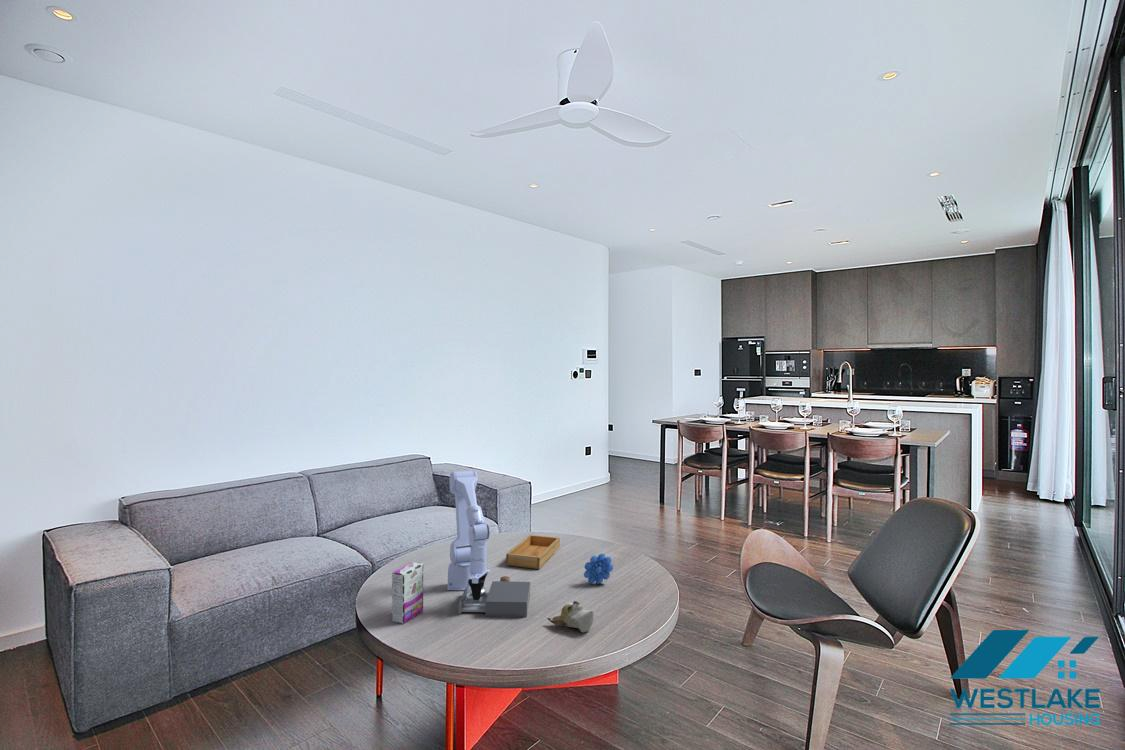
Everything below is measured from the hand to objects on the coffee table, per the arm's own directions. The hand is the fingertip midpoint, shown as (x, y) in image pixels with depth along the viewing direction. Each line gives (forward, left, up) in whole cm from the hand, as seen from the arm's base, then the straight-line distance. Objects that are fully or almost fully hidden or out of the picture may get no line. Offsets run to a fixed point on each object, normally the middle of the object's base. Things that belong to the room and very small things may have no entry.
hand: (477, 596), depth 193 cm
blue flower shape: (+44, +22, -3) cm, 49 cm away
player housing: (+11, 0, -3) cm, 11 cm away
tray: (+17, +52, -4) cm, 55 cm away
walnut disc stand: (+8, +15, -3) cm, 17 cm away
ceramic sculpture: (+34, -15, -3) cm, 37 cm away
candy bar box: (-22, -10, -3) cm, 24 cm away
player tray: (+2, 0, -2) cm, 3 cm away
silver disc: (0, 0, +1) cm, 1 cm away
